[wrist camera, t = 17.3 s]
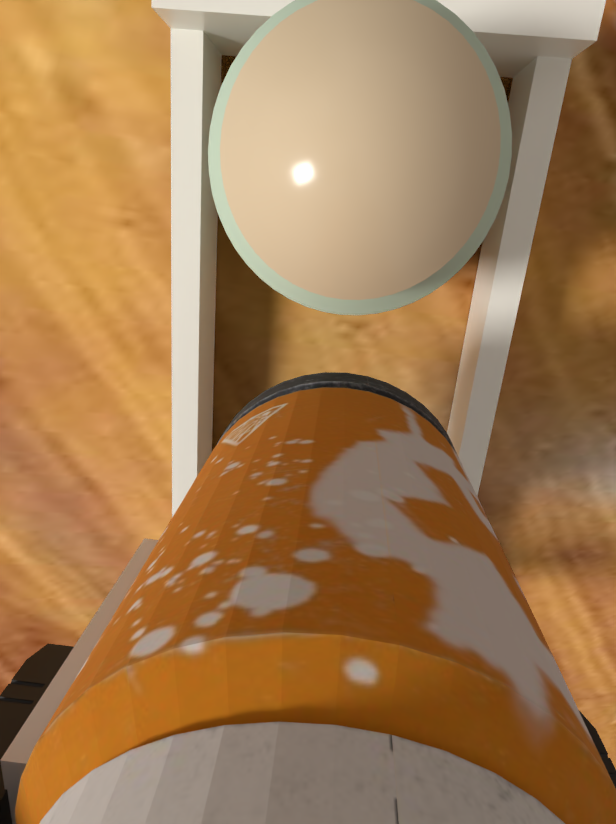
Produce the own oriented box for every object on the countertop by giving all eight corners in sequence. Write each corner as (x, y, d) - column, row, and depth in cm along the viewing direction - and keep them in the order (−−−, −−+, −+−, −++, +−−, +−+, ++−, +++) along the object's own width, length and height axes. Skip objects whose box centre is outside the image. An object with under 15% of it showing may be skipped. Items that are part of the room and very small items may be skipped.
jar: (268, 75, 22) (198, -55, 12) (460, 91, 22) (564, -29, 12) (258, 271, 25) (194, 307, 15) (429, 287, 25) (489, 336, 14)
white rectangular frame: (193, 18, 22) (151, -38, 17) (549, 45, 21) (607, -5, 17) (187, 639, 33) (160, 709, 28) (423, 667, 32) (436, 743, 27)
